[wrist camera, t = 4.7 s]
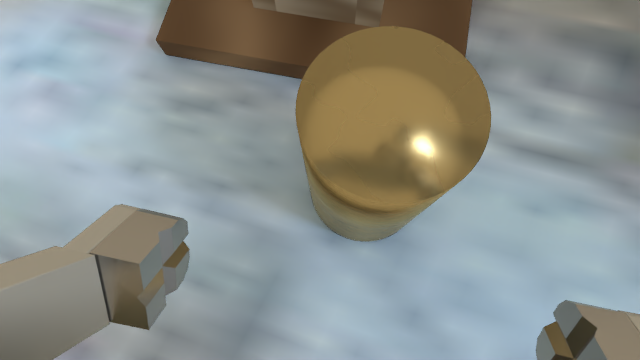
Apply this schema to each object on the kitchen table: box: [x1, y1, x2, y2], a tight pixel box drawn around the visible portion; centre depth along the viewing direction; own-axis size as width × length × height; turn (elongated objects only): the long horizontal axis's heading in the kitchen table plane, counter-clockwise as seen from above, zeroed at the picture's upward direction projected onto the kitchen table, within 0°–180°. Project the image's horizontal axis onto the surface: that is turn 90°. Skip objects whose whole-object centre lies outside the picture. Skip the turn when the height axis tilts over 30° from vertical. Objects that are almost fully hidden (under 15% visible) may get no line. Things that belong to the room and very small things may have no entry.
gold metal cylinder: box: [296, 26, 491, 241], centre depth 13 cm, size 5×5×8 cm
